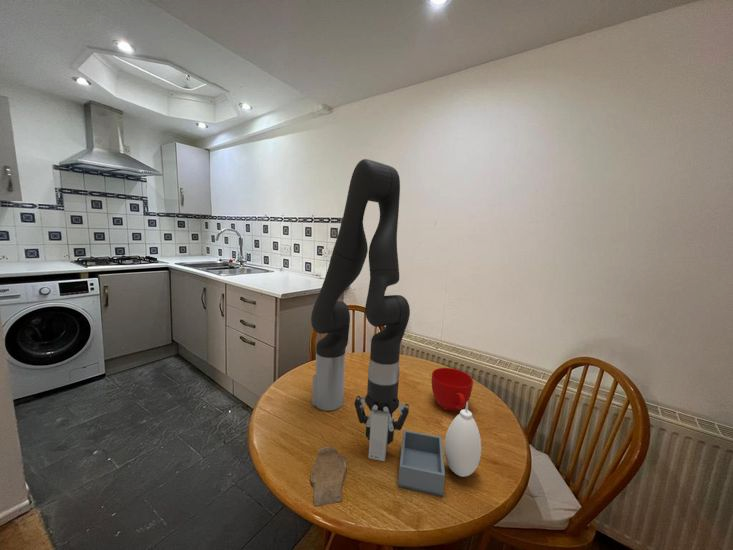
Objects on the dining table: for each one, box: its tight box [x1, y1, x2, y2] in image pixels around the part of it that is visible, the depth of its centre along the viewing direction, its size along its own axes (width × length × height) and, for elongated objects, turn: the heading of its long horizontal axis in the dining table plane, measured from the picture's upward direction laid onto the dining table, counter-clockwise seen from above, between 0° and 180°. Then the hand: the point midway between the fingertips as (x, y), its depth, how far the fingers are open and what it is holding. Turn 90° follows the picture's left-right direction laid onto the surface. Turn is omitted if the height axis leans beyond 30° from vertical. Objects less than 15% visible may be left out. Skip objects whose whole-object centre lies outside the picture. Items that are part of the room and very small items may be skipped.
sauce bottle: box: [443, 400, 482, 478], centre depth 65 cm, size 8×8×18 cm
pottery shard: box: [310, 445, 347, 507], centre depth 64 cm, size 8×3×15 cm
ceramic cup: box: [431, 367, 474, 412], centre depth 90 cm, size 13×17×10 cm
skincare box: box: [368, 410, 389, 462], centre depth 70 cm, size 6×4×12 cm
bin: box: [397, 429, 446, 498], centre depth 66 cm, size 10×12×5 cm
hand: (379, 439), depth 71 cm, fingers closed on skincare box, 4 cm apart
